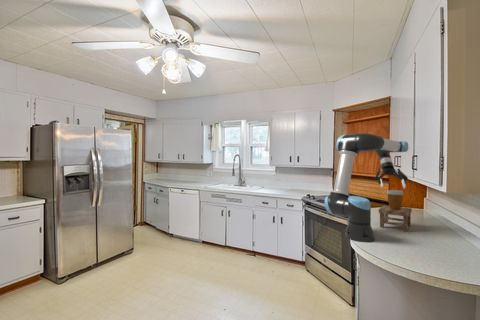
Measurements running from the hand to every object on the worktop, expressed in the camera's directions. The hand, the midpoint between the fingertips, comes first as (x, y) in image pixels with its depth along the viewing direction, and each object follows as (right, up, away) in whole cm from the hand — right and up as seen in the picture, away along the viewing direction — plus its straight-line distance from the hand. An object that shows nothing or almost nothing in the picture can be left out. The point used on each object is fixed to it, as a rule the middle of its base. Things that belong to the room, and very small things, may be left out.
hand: (393, 187), depth 163 cm
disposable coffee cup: (-2, -14, -5) cm, 15 cm away
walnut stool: (-2, -26, -5) cm, 26 cm away
